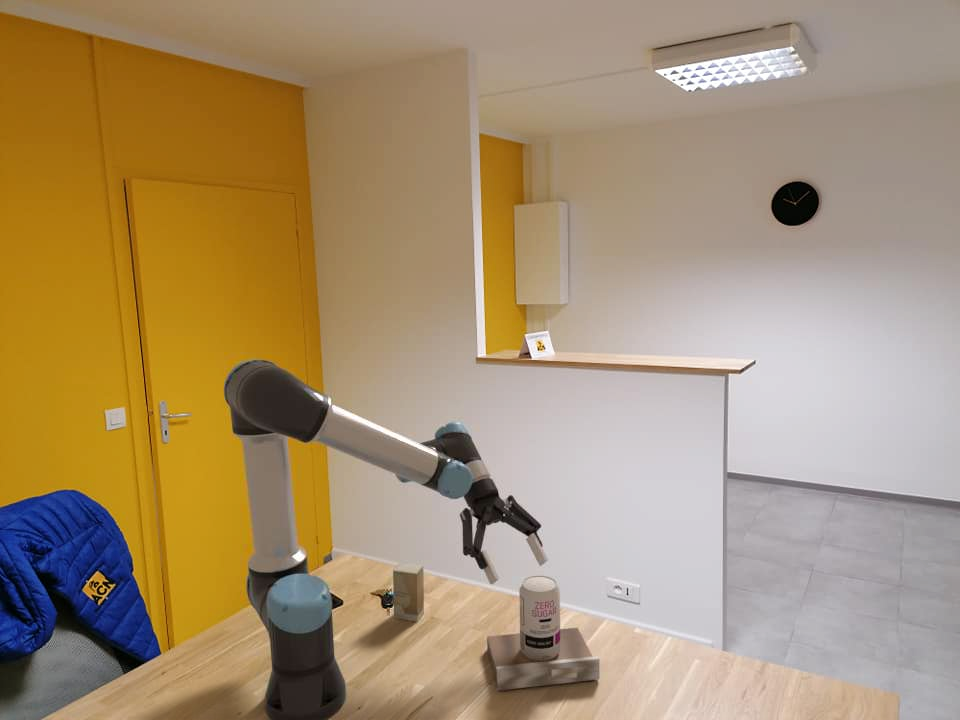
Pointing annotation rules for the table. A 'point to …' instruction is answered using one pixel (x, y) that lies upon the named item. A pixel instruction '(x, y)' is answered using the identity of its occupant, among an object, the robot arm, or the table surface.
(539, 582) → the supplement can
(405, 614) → the skincare box
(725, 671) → the table surface
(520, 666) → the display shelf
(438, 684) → the table surface
